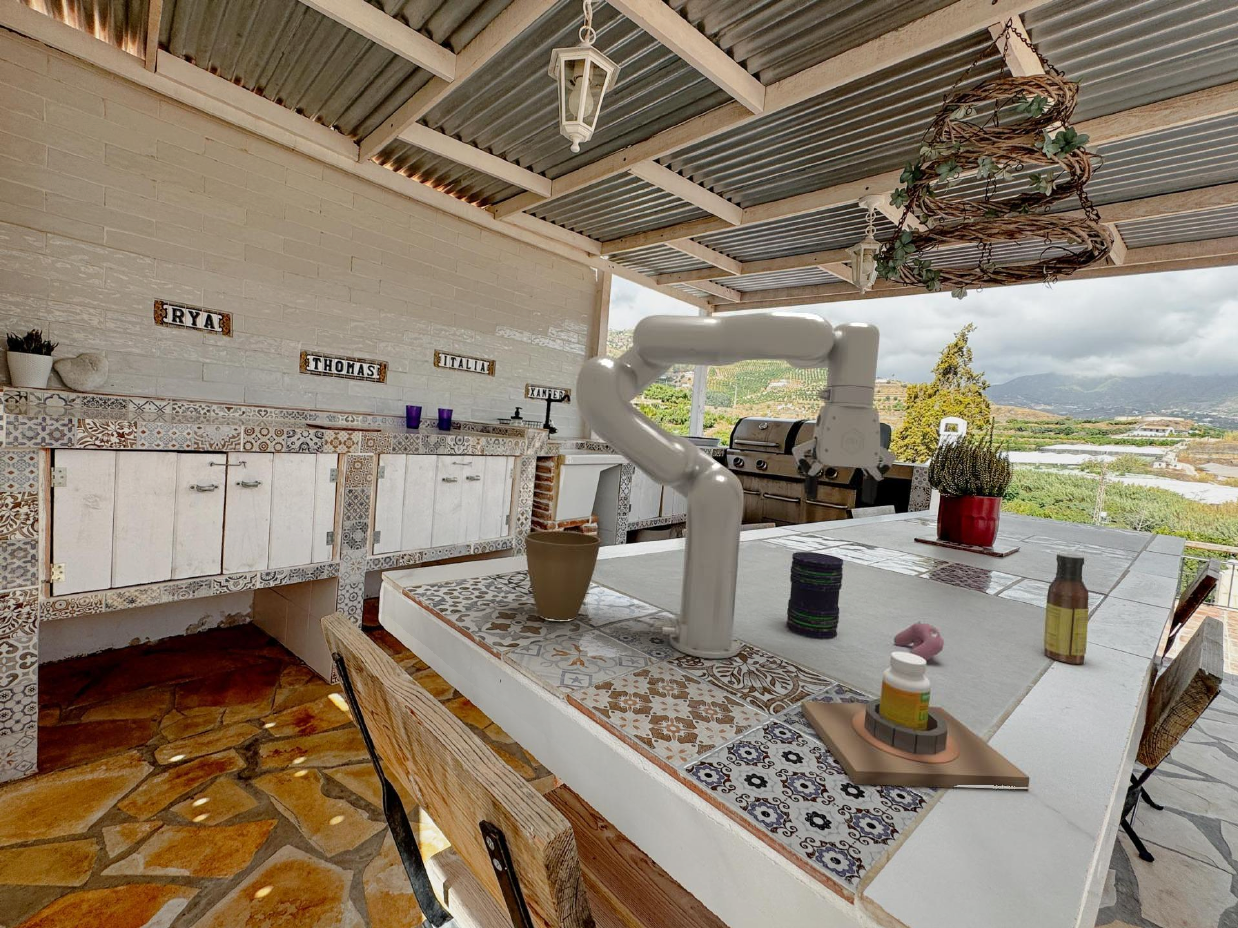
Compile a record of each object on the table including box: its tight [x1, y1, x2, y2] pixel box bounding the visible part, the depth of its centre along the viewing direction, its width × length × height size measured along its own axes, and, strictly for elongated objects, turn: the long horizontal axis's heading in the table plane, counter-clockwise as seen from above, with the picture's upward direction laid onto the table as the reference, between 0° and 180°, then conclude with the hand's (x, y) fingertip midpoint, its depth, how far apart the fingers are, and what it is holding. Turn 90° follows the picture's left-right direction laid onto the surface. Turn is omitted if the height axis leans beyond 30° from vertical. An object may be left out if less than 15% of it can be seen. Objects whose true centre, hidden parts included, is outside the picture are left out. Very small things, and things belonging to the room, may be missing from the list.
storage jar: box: [786, 551, 844, 640], centre depth 112 cm, size 10×10×15 cm
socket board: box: [800, 698, 1030, 788], centre depth 70 cm, size 20×16×4 cm
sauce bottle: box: [1043, 552, 1090, 665], centre depth 105 cm, size 7×6×20 cm
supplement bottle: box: [879, 651, 932, 731], centre depth 70 cm, size 5×5×10 cm
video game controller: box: [893, 621, 945, 661], centre depth 102 cm, size 10×5×7 cm, turn 170°
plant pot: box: [524, 530, 602, 620], centre depth 110 cm, size 15×15×16 cm
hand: (839, 500), depth 94 cm, fingers open, 9 cm apart
